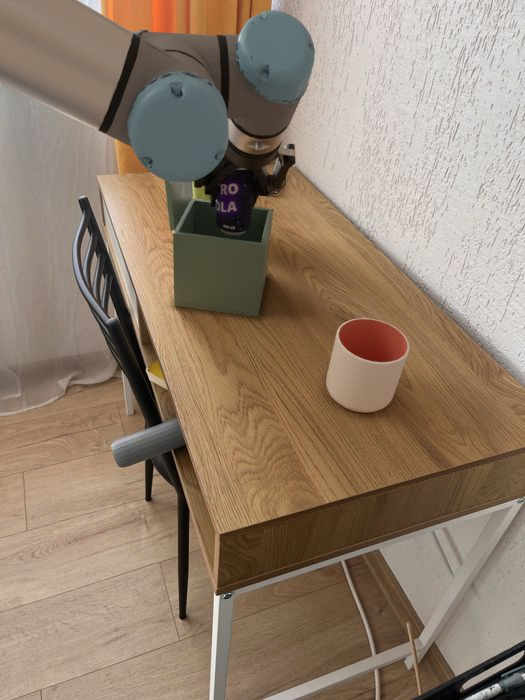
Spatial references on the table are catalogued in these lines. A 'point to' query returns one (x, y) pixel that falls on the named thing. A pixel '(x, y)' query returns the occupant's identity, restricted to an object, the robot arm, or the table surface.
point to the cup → (366, 364)
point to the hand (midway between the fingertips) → (231, 198)
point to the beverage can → (235, 202)
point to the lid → (177, 200)
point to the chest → (220, 261)
